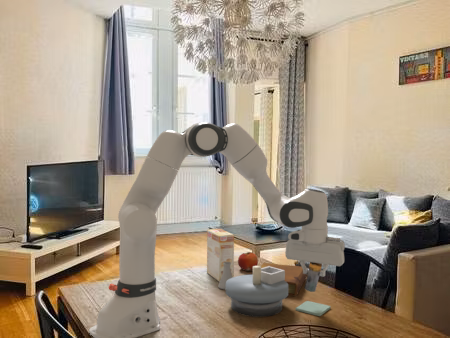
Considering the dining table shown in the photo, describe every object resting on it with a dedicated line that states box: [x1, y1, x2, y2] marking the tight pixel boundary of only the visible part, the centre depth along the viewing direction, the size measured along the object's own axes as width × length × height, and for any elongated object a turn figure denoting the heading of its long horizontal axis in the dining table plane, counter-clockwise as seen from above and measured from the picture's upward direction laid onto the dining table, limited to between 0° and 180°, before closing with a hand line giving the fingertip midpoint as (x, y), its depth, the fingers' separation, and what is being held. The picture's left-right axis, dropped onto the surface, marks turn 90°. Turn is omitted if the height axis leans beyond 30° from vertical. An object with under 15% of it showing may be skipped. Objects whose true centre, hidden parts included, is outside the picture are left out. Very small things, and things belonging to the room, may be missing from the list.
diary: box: [260, 262, 307, 297], centre depth 181 cm, size 23×19×6 cm
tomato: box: [237, 251, 259, 272], centre depth 202 cm, size 9×9×8 cm
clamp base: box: [230, 298, 283, 318], centre depth 156 cm, size 18×18×5 cm
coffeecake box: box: [206, 228, 235, 283], centre depth 191 cm, size 15×7×20 cm, turn 23°
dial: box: [225, 265, 289, 303], centre depth 156 cm, size 22×22×9 cm
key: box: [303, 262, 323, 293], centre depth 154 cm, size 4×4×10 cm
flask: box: [217, 262, 232, 291], centre depth 177 cm, size 7×7×10 cm
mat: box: [295, 300, 331, 317], centre depth 154 cm, size 9×9×1 cm
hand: (313, 274), depth 154 cm, fingers closed on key, 4 cm apart
